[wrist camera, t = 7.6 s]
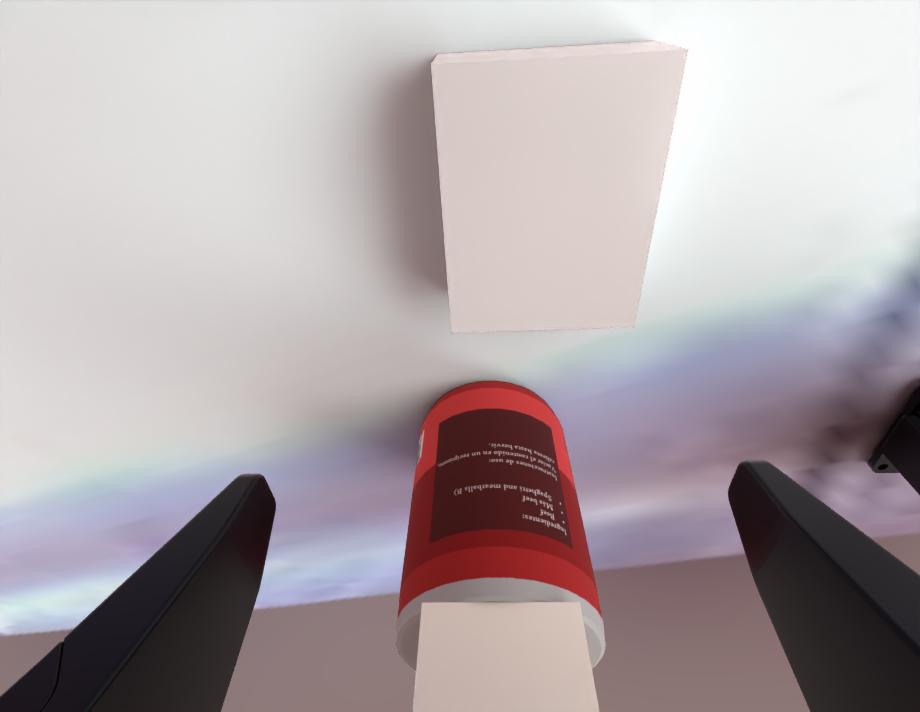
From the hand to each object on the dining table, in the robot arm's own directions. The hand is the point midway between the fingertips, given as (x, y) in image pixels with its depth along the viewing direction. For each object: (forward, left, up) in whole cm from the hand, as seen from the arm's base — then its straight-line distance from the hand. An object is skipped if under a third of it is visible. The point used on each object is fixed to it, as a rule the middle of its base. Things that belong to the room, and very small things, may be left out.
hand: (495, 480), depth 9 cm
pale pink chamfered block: (-2, -1, -13) cm, 13 cm away
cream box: (0, +12, -2) cm, 12 cm away
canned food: (0, +12, -13) cm, 17 cm away
